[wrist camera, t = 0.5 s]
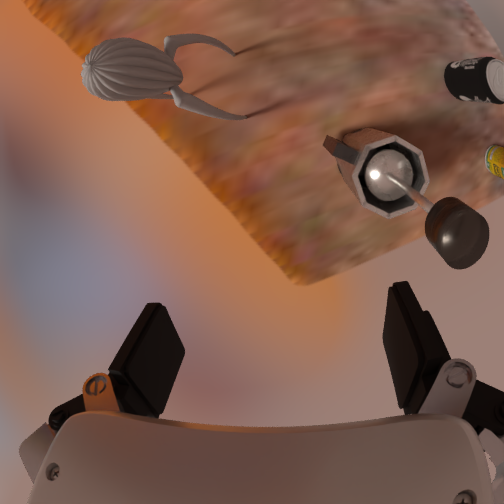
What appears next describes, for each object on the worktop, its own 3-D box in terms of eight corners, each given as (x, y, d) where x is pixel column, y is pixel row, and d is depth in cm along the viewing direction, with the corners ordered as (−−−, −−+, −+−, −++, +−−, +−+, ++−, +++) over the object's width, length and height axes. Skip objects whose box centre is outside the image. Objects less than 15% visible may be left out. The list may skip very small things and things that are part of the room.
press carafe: (403, 146, 37) (439, 162, 26) (379, 197, 41) (405, 228, 31) (334, 110, 36) (352, 111, 26) (311, 166, 41) (319, 187, 30)
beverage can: (440, 93, 32) (484, 93, 21) (442, 56, 28) (484, 47, 18) (471, 105, 31) (516, 112, 21) (473, 70, 28) (518, 68, 17)
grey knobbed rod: (394, 139, 28) (486, 179, 12) (418, 181, 30) (505, 250, 14) (354, 167, 30) (415, 231, 15) (380, 207, 32) (444, 296, 16)
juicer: (268, 63, 34) (223, -29, 8) (246, 119, 38) (157, 144, 12) (201, 45, 33) (64, -24, 7) (181, 98, 38) (22, 109, 11)
